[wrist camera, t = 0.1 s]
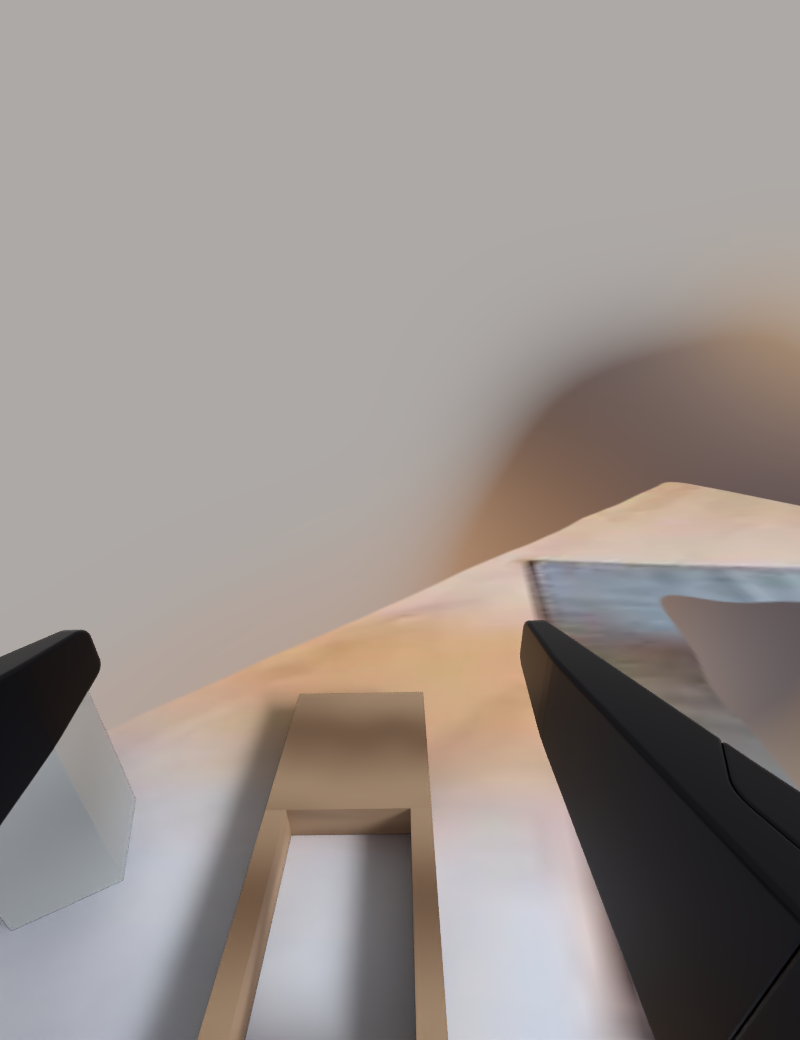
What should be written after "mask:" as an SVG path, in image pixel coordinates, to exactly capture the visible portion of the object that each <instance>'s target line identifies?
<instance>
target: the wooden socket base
mask: <svg viewBox="0 0 800 1040" xmlns="http://www.w3.org/2000/svg"><path fill="white" fill-rule="evenodd" d="M344 834H411V855H412V896H413V936H414V976H415V1016H416V1040H448V1032H447V1018H446V1004H445V990H444V976H443V962H442V948H441V934H440V920H439V906H438V893H437V879H436V865H435V851H434V837H433V823H432V809H431V795H430V781H429V767H428V753H427V739H426V725H425V711H424V697H423V692H392V693H329V694H299V698H298V701H297V705H296V708H295V711H294V715H293V718H292V721H291V725H290V728H289V732H288V735H287V738H286V742H285V745H284V749H283V752H282V755H281V759H280V762H279V765H278V769H277V772H276V776H275V779H274V782H273V786H272V789H271V792H270V796H269V799H268V803H267V806H266V809H265V813H264V816H263V820H262V823H261V826H260V830H259V833H258V836H257V840H256V843H255V847H254V850H253V853H252V857H251V860H250V863H249V867H248V870H247V874H246V877H245V880H244V884H243V887H242V891H241V894H240V897H239V901H238V904H237V907H236V911H235V914H234V918H233V921H232V924H231V928H230V931H229V934H228V938H227V941H226V945H225V948H224V951H223V955H222V958H221V962H220V965H219V968H218V972H217V975H216V978H215V982H214V985H213V989H212V992H211V995H210V999H209V1002H208V1005H207V1009H206V1012H205V1016H204V1019H203V1022H202V1026H201V1029H200V1033H199V1036H198V1039H197V1040H245V1038H246V1034H247V1029H248V1025H249V1020H250V1016H251V1011H252V1007H253V1003H254V998H255V994H256V989H257V985H258V980H259V976H260V972H261V967H262V963H263V958H264V954H265V949H266V945H267V941H268V936H269V932H270V927H271V923H272V918H273V914H274V910H275V905H276V901H277V896H278V892H279V887H280V883H281V879H282V874H283V870H284V865H285V861H286V856H287V852H288V848H289V843H290V839H291V835H344Z"/></svg>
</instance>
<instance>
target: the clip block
mask: <svg viewBox="0 0 800 1040" xmlns="http://www.w3.org/2000/svg"><path fill="white" fill-rule="evenodd" d="M135 800H136V798H135V795H134V793H133V791H132V789H131V786H130V784H129V782H128V779H127V777H126V775H125V773H124V770H123V768H122V766H121V763H120V761H119V759H118V757H117V754H116V752H115V750H114V747H113V745H112V743H111V740H110V738H109V736H108V734H107V731H106V729H105V727H104V725H103V722H102V720H101V718H100V716H99V713H98V711H97V708H96V706H95V704H94V702H93V699H92V697H91V695H90V693H89V691H88V692H87V694H86V696H85V697H84V699H83V701H82V703H81V704H80V706H79V708H78V709H77V711H76V713H75V715H74V716H73V718H72V720H71V721H70V723H69V725H68V727H67V728H66V730H65V732H64V733H63V735H62V737H61V738H60V740H59V742H58V743H57V745H56V746H55V748H54V749H53V751H52V752H51V754H50V755H49V757H48V758H47V760H46V761H45V763H44V764H43V766H42V767H41V769H40V770H39V771H38V773H37V774H36V776H35V777H34V779H33V780H32V781H31V783H30V784H29V786H28V787H27V789H26V790H25V791H24V793H23V794H22V796H21V797H20V799H19V800H18V801H17V803H16V804H15V806H14V807H13V809H12V810H11V811H10V813H9V814H8V816H7V817H6V819H5V820H4V821H3V823H2V824H1V826H0V917H1V919H2V920H3V921H4V922H5V924H6V925H7V926H8V927H9V929H10V930H11V931H12V930H15V929H17V928H19V927H21V926H23V925H26V924H28V923H30V922H32V921H34V920H37V919H39V918H41V917H43V916H45V915H48V914H50V913H52V912H54V911H56V910H59V909H61V908H63V907H65V906H67V905H70V904H72V903H74V902H76V901H78V900H81V899H83V898H85V897H87V896H89V895H91V894H94V893H96V892H98V891H100V890H102V889H105V888H107V887H109V886H111V885H113V884H116V883H118V882H120V881H122V880H123V878H124V871H125V865H126V858H127V852H128V845H129V839H130V832H131V826H132V820H133V813H134V807H135Z"/></svg>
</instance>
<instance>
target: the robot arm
mask: <svg viewBox="0 0 800 1040" xmlns="http://www.w3.org/2000/svg"><path fill="white" fill-rule="evenodd" d="M520 660H521V666H522V669H523V673H524V677H525V681H526V685H527V689H528V692H529V696H530V700H531V704H532V708H533V712H534V715H535V719H536V723H537V727H538V730H539V734H540V737H541V740H542V743H543V746H544V749H545V751H546V754H547V757H548V759H549V762H550V765H551V767H552V770H553V773H554V775H555V778H556V781H557V783H558V786H559V788H560V791H561V794H562V796H563V799H564V802H565V804H566V807H567V810H568V812H569V815H570V817H571V820H572V823H573V825H574V828H575V831H576V833H577V836H578V839H579V841H580V844H581V847H582V849H583V852H584V854H585V857H586V860H587V862H588V865H589V868H590V870H591V873H592V876H593V878H594V881H595V884H596V886H597V889H598V891H599V894H600V897H601V899H602V902H603V905H604V907H605V910H606V913H607V915H608V918H609V920H610V923H611V926H612V928H613V931H614V934H615V936H616V939H617V942H618V944H619V947H620V950H621V952H622V955H623V957H624V960H625V963H626V965H627V968H628V971H629V973H630V976H631V979H632V981H633V984H634V987H635V989H636V992H637V994H638V997H639V1000H640V1002H641V1005H642V1008H643V1010H644V1013H645V1016H646V1018H647V1021H648V1023H649V1026H650V1029H651V1031H652V1034H653V1037H654V1039H655V1040H800V792H799V791H798V790H796V789H795V788H793V787H792V786H790V785H789V784H787V783H786V782H784V781H783V780H781V779H780V778H778V777H777V776H775V775H774V774H772V773H771V772H769V771H768V770H766V769H764V768H763V767H761V766H760V765H758V764H757V763H755V762H754V761H752V760H751V759H749V758H748V757H746V756H745V755H744V754H742V753H741V752H739V751H738V750H736V749H735V748H733V747H732V746H730V745H729V744H727V743H725V742H724V743H721V740H720V739H719V738H718V737H717V736H715V735H714V734H712V733H711V732H709V731H708V730H706V729H705V728H703V727H702V726H701V725H699V724H698V723H696V722H695V721H693V720H692V719H690V718H689V717H687V716H686V715H684V714H683V713H681V712H680V711H678V710H677V709H675V708H674V707H673V706H671V705H670V704H668V703H667V702H665V701H664V700H662V699H661V698H659V697H658V696H656V695H655V694H653V693H652V692H650V691H649V690H647V689H646V688H645V687H643V686H642V685H640V684H639V683H637V682H636V681H634V680H633V679H631V678H630V677H628V676H627V675H625V674H624V673H622V672H621V671H619V670H618V669H617V668H615V667H614V666H612V665H611V664H609V663H608V662H606V661H605V660H603V659H602V658H600V657H599V656H597V655H596V654H594V653H593V652H591V651H590V650H589V649H587V648H586V647H584V646H583V645H581V644H580V643H578V642H577V641H575V640H574V639H572V638H571V637H569V636H568V635H566V634H565V633H564V632H562V631H561V630H559V629H558V628H556V627H555V626H553V625H552V624H550V623H549V622H547V621H544V620H534V621H527V622H525V624H524V627H523V634H522V642H521V650H520ZM100 666H101V662H100V658H99V656H98V653H97V651H96V648H95V646H94V643H93V640H92V638H91V636H90V634H89V633H88V632H87V631H85V630H64V631H60V632H58V633H55V634H53V635H51V636H48V637H46V638H43V639H41V640H39V641H37V642H34V643H32V644H29V645H27V646H25V647H23V648H20V649H18V650H15V651H13V652H11V653H8V654H6V655H4V656H1V657H0V826H1V824H2V823H3V821H4V820H5V819H6V817H7V816H8V814H9V813H10V811H11V810H12V809H13V807H14V806H15V804H16V803H17V801H18V800H19V799H20V797H21V796H22V794H23V793H24V791H25V790H26V789H27V787H28V786H29V784H30V783H31V781H32V780H33V779H34V777H35V776H36V774H37V773H38V771H39V770H40V769H41V767H42V766H43V764H44V763H45V761H46V760H47V758H48V757H49V755H50V754H51V752H52V751H53V749H54V748H55V746H56V745H57V743H58V742H59V740H60V738H61V737H62V735H63V733H64V732H65V730H66V728H67V727H68V725H69V723H70V721H71V720H72V718H73V716H74V715H75V713H76V711H77V709H78V708H79V706H80V704H81V703H82V701H83V699H84V697H85V696H86V694H87V692H88V691H89V689H90V687H91V685H92V684H93V682H94V680H95V679H96V677H97V675H98V673H99V671H100Z"/></svg>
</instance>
